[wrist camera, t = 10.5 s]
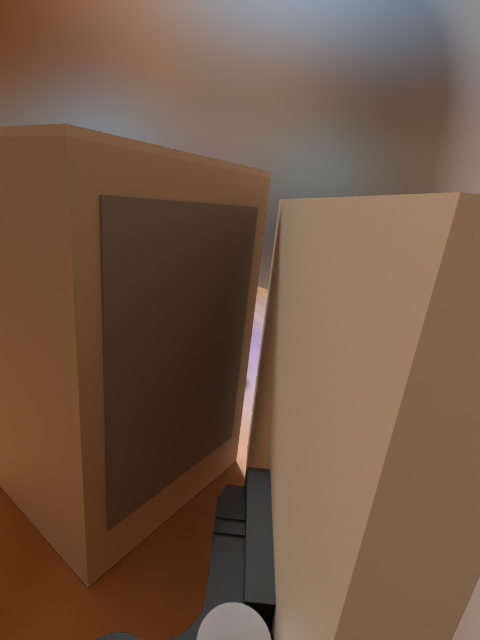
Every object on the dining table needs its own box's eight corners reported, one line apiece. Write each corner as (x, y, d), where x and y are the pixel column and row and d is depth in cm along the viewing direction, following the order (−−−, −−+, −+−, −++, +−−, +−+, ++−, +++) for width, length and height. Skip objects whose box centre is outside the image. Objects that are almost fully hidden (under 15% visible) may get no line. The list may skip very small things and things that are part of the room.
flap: (247, 448, 24) (279, 199, 19) (261, 450, 24) (298, 201, 19) (219, 1043, 7) (460, 192, 2) (269, 1050, 7) (641, 213, 2)
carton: (89, 589, 16) (67, 119, 10) (-11, 474, 21) (-63, 126, 15) (237, 461, 24) (273, 170, 18) (140, 403, 30) (143, 163, 24)
